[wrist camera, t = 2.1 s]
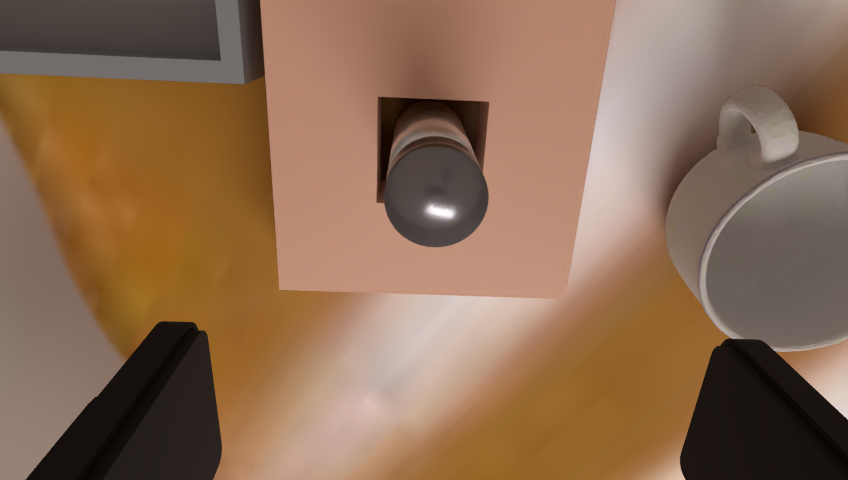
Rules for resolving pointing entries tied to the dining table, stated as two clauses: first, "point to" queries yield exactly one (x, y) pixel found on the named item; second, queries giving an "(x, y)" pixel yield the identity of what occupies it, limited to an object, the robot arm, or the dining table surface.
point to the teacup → (766, 227)
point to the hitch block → (431, 79)
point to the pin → (434, 178)
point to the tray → (134, 39)
